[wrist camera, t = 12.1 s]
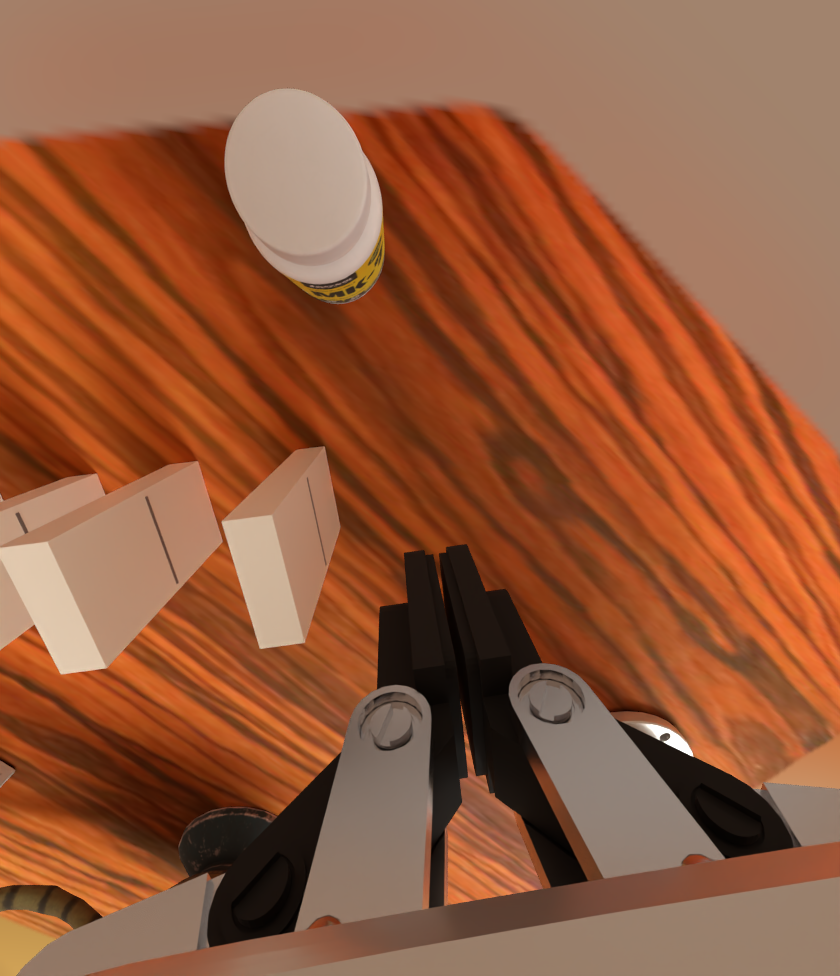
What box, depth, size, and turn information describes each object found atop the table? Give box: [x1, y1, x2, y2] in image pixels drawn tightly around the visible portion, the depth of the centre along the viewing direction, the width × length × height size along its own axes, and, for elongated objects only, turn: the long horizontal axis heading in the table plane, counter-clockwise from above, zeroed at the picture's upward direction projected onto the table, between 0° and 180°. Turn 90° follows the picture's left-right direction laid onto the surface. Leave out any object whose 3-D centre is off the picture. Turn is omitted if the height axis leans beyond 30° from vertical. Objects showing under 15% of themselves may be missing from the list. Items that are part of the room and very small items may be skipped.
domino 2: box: [0, 461, 223, 674], centre depth 18 cm, size 2×5×10 cm, turn 6°
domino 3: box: [221, 446, 341, 649], centre depth 18 cm, size 2×5×10 cm, turn 7°
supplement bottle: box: [225, 88, 385, 304], centre depth 15 cm, size 5×5×8 cm
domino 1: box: [0, 473, 105, 650], centre depth 18 cm, size 2×5×10 cm, turn 7°
